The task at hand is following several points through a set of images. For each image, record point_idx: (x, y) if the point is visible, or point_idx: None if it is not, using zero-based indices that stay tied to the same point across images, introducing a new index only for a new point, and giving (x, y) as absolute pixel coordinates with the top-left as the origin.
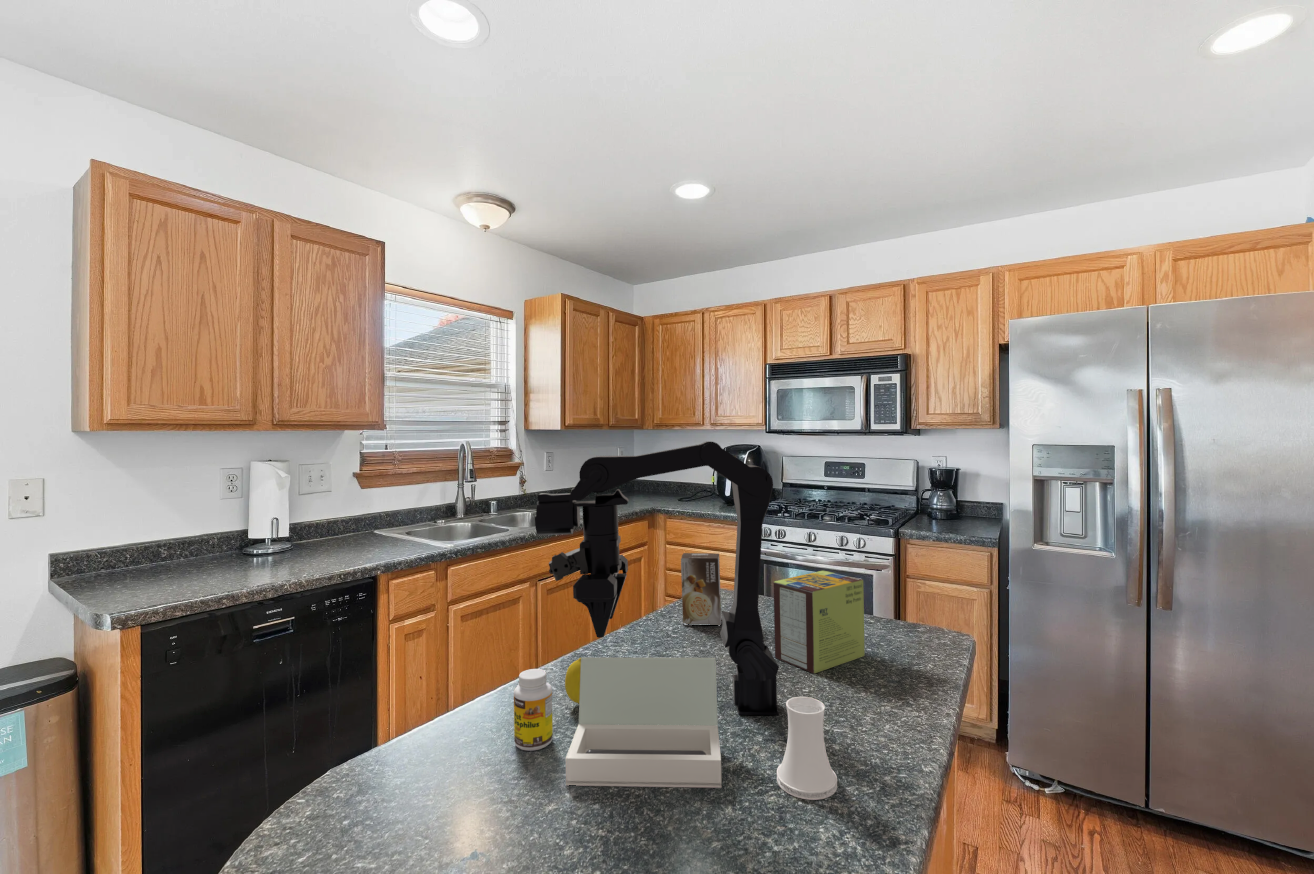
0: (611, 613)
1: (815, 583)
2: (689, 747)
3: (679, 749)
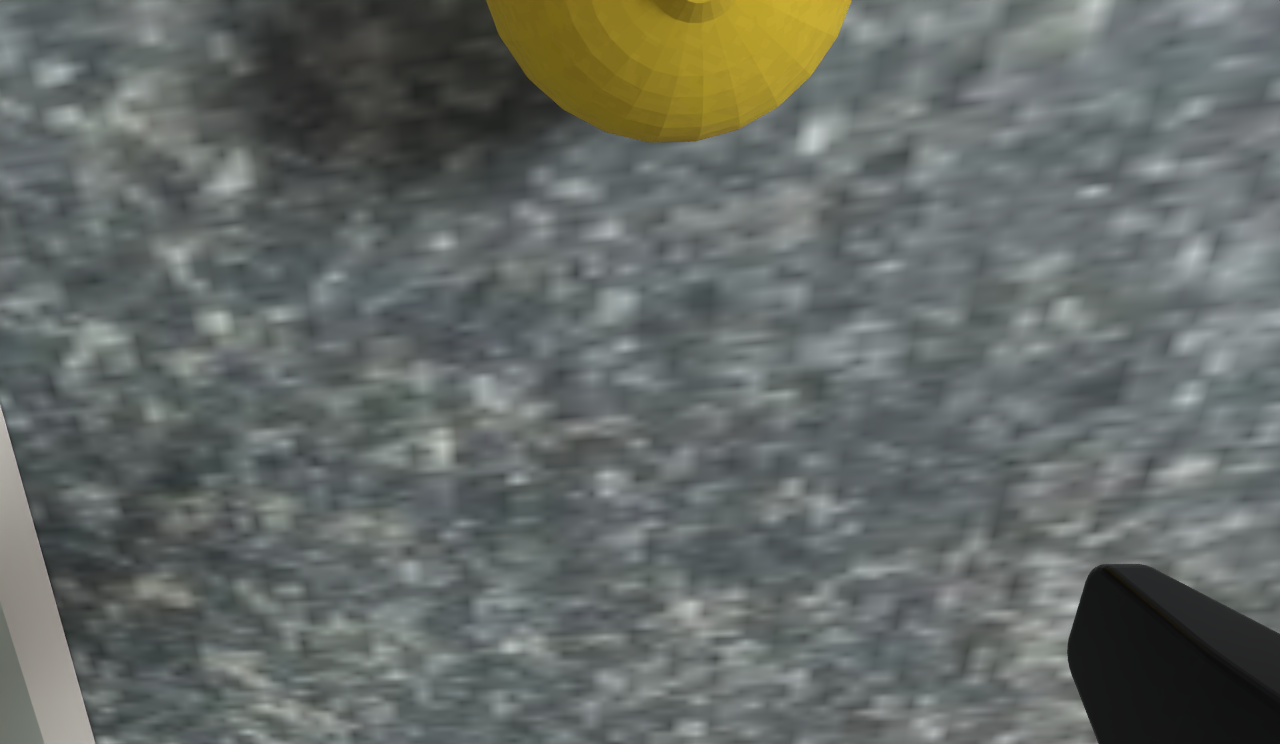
0: (1115, 734)
1: None
2: None
3: None
